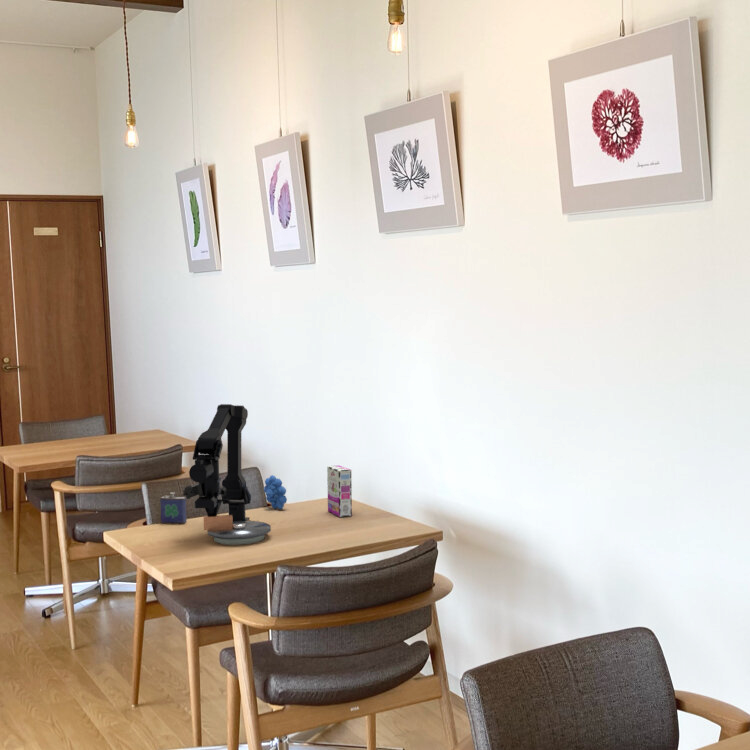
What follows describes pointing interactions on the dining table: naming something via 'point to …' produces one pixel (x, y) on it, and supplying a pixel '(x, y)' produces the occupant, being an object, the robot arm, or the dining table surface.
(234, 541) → the valve base
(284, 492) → the grapes
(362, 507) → the dining table surface
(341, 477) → the candy bar box
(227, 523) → the grey disc with hub
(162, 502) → the flask
